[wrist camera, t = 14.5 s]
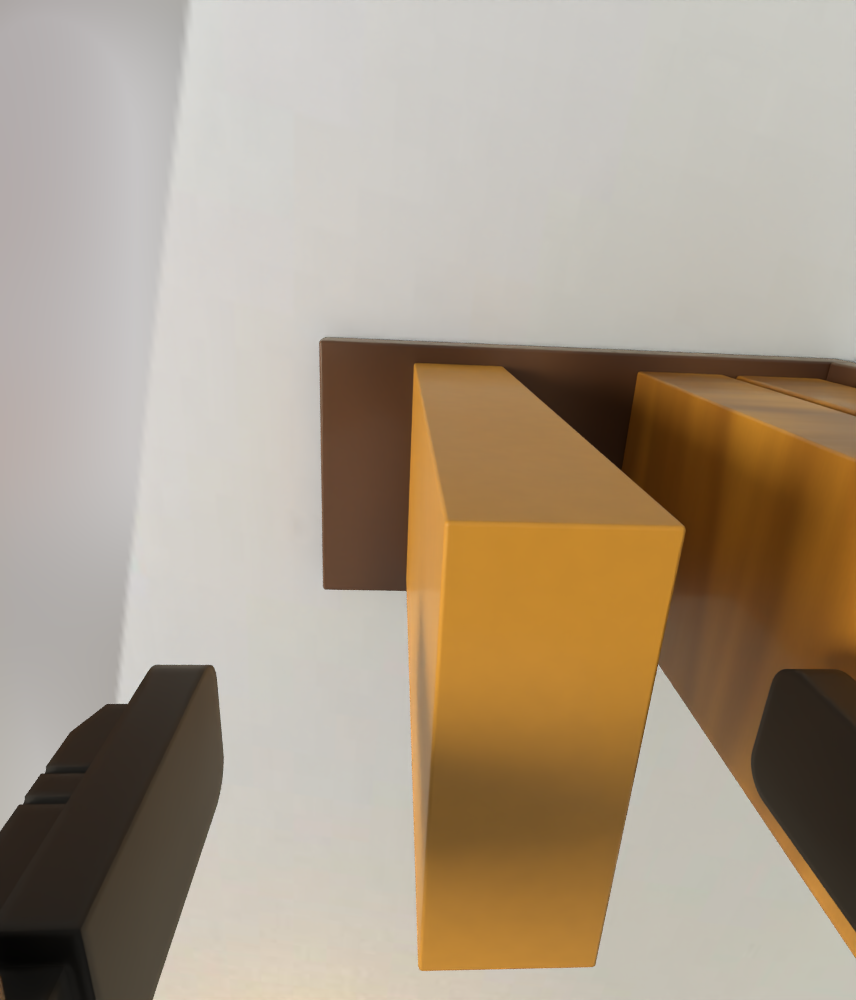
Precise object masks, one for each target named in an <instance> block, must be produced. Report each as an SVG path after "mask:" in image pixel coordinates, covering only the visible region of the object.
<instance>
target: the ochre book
mask: <svg viewBox="0 0 856 1000" xmlns="http://www.w3.org/2000/svg"><path fill="white" fill-rule="evenodd" d="M685 532H686V529H685V526H684V525H683V524H681V523H680V522H679V521H678V520H677V519H676V518H675V517H673V516H672V515H671V514H670V513H669V512H668V511H667V510H665V509H664V508H663V507H662V506H661V505H660V504H659V503H658V502H656V501H655V500H654V499H653V498H652V497H651V496H650V495H648V494H647V493H646V492H645V491H644V490H643V489H642V488H640V487H639V486H638V485H637V484H636V483H635V482H634V481H632V480H631V479H630V478H629V477H628V476H627V475H626V474H624V473H623V472H622V471H621V470H620V469H619V468H618V467H616V466H615V465H614V464H613V463H612V462H611V461H610V460H608V459H607V458H606V457H605V456H604V455H603V454H602V453H600V452H599V451H598V450H597V449H596V448H595V447H594V446H592V445H591V444H590V443H589V442H588V441H587V440H586V439H585V438H583V437H582V436H581V435H580V434H579V433H578V432H577V431H575V430H574V429H573V428H572V427H571V426H570V425H569V424H567V423H566V422H565V421H564V420H563V419H562V418H561V417H559V416H558V415H557V414H556V413H555V412H554V411H553V410H551V409H550V408H549V407H548V406H547V405H546V404H545V403H543V402H542V401H541V400H540V399H539V398H538V397H537V396H535V395H534V394H533V393H532V392H531V391H530V390H529V389H527V388H526V387H525V386H524V385H523V384H522V383H521V382H520V381H518V380H517V379H516V378H515V377H514V376H513V375H512V374H510V373H509V372H508V371H507V370H506V369H505V368H504V367H502V366H482V365H456V364H430V363H415V364H414V376H413V404H412V432H411V460H410V488H409V516H408V544H407V572H406V585H407V618H408V650H409V683H410V715H411V748H412V780H413V812H414V845H415V877H416V910H417V942H418V967H419V969H420V970H421V971H436V970H481V969H526V968H571V967H593V966H595V964H596V959H597V954H598V949H599V945H600V940H601V935H602V930H603V925H604V921H605V916H606V911H607V906H608V901H609V897H610V892H611V887H612V882H613V877H614V873H615V868H616V863H617V858H618V854H619V849H620V844H621V839H622V834H623V830H624V825H625V820H626V815H627V810H628V806H629V801H630V796H631V791H632V786H633V782H634V777H635V772H636V767H637V762H638V758H639V753H640V748H641V743H642V739H643V734H644V729H645V724H646V719H647V715H648V710H649V705H650V700H651V695H652V691H653V686H654V681H655V676H656V671H657V667H658V662H659V657H660V652H661V647H662V643H663V638H664V633H665V628H666V624H667V619H668V614H669V609H670V604H671V600H672V595H673V590H674V585H675V580H676V576H677V571H678V566H679V561H680V556H681V552H682V547H683V542H684V537H685Z"/></svg>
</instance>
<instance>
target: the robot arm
mask: <svg viewBox="0 0 856 1000" xmlns="http://www.w3.org/2000/svg"><path fill="white" fill-rule="evenodd" d="M223 763H224V756H223V743H222V732H221V721H220V709H219V698H218V687H217V677H216V672H215V669H214V667H213V666H212V665H154V666H152V667H151V668H150V670H149V671H148V672H147V674H146V676H145V677H144V679H143V680H142V682H141V684H140V685H139V687H138V689H137V690H136V692H135V693H134V695H133V697H132V698H131V700H130V701H129V703H128V704H107V705H105V706H104V707H102V709H100V710H99V711H97V712H96V713H95V714H93V715H92V716H91V717H90V718H88V719H87V720H86V721H84V722H83V723H82V724H80V725H79V726H78V727H77V728H75V729H74V730H73V731H71V732H70V734H69V735H68V736H67V738H66V739H65V741H64V742H63V743H62V745H61V746H60V748H59V749H58V751H57V752H56V753H55V755H54V756H53V758H52V759H51V760H50V762H49V763H48V765H47V766H46V772H45V774H41V775H40V776H39V777H38V779H37V780H36V782H35V783H34V784H33V786H32V787H31V789H30V790H29V792H28V793H27V794H26V796H25V801H24V804H23V805H19V806H18V807H17V809H16V810H15V811H14V813H13V814H12V816H11V817H10V818H9V820H8V821H7V823H6V824H5V826H4V827H3V828H2V830H1V831H0V1000H153V997H154V994H155V991H156V988H157V984H158V981H159V978H160V975H161V972H162V969H163V966H164V963H165V960H166V957H167V954H168V951H169V948H170V945H171V942H172V939H173V936H174V933H175V930H176V927H177V924H178V921H179V918H180V915H181V912H182V909H183V906H184V903H185V900H186V897H187V894H188V891H189V888H190V885H191V882H192V879H193V876H194V873H195V870H196V867H197V864H198V861H199V858H200V855H201V852H202V849H203V846H204V843H205V840H206V837H207V834H208V831H209V828H210V825H211V822H212V819H213V816H214V813H215V810H216V806H217V803H218V799H219V795H220V790H221V784H222V777H223ZM751 771H752V776H753V780H754V784H755V787H756V789H757V792H758V794H759V796H760V798H761V799H762V801H763V802H764V804H765V805H766V807H767V808H768V809H769V811H770V812H771V814H772V815H773V816H774V818H775V819H776V821H777V822H778V823H779V825H780V826H781V828H782V829H783V831H784V832H785V833H786V835H787V836H788V838H789V839H790V840H791V842H792V843H793V845H794V846H795V847H796V849H797V850H798V852H799V853H800V854H801V856H802V857H803V859H804V860H805V862H806V863H807V864H808V866H809V867H810V869H811V870H812V871H813V873H814V874H815V876H816V877H817V878H818V880H819V881H820V883H821V884H822V885H823V887H824V888H825V890H826V891H827V893H828V894H829V895H830V897H831V898H832V900H833V901H834V902H835V904H836V905H837V907H838V908H839V909H840V911H841V912H842V914H843V915H844V916H845V918H846V919H847V921H848V922H849V924H850V925H851V926H852V928H853V929H854V931H855V932H856V681H855V680H854V679H853V678H852V677H851V676H849V675H848V674H847V673H845V672H843V671H841V670H838V669H783V670H780V671H779V672H778V673H777V674H776V675H775V676H774V678H773V680H772V683H771V686H770V690H769V693H768V697H767V700H766V704H765V707H764V711H763V714H762V718H761V721H760V725H759V728H758V732H757V735H756V739H755V742H754V746H753V749H752V754H751Z"/></svg>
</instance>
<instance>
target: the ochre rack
mask: <svg viewBox="0 0 856 1000" xmlns="http://www.w3.org/2000/svg"><path fill="white" fill-rule="evenodd" d="M319 356H320V420H321V483H322V547H323V587H324V589H329V590H387V591H407V585H406V572H407V544H408V516H409V488H410V460H411V432H412V404H413V376H414V364H415V363H430V364H456V365H482V366H502V367H504V368H505V369H506V370H507V371H508V372H509V373H510V374H512V375H513V376H514V377H515V378H516V379H517V380H518V381H520V382H521V383H522V384H523V385H524V386H525V387H526V388H527V389H529V390H530V391H531V392H532V393H533V394H534V395H535V396H537V397H538V398H539V399H540V400H541V401H542V402H543V403H545V404H546V405H547V406H548V407H549V408H550V409H551V410H553V411H554V412H555V413H556V414H557V415H558V416H559V417H561V418H562V419H563V420H564V421H565V422H566V423H567V424H569V425H570V426H571V427H572V428H573V429H574V430H575V431H577V432H578V433H579V434H580V435H581V436H582V437H583V438H585V439H586V440H587V441H588V442H589V443H590V444H591V445H592V446H594V447H595V448H596V449H597V450H598V451H599V452H600V453H602V454H603V455H604V456H605V457H606V458H607V459H608V460H610V461H611V462H612V463H613V464H614V465H615V466H616V467H618V468H619V469H620V470H621V471H622V472H623V473H624V474H626V475H627V476H628V477H629V478H630V479H631V480H632V481H634V482H635V483H636V484H637V485H638V486H639V487H640V488H642V489H643V490H644V491H645V492H646V493H647V494H648V495H650V496H651V497H652V498H653V499H654V500H655V501H656V502H658V503H659V504H660V505H661V506H662V507H663V508H664V509H665V510H667V511H668V512H669V513H670V514H671V515H672V516H673V517H675V518H676V519H677V520H678V521H679V522H680V523H681V524H683V525H684V526H685V529H686V532H685V537H684V542H683V547H682V552H681V556H680V561H679V566H678V571H677V576H676V580H675V585H674V590H673V595H672V600H671V604H670V609H669V614H668V619H667V624H666V628H665V633H664V638H663V643H662V647H661V652H660V657H659V662H658V664H659V666H660V667H661V669H662V670H663V672H664V673H665V675H666V676H667V678H668V679H669V681H670V682H671V684H672V685H673V687H674V688H675V690H676V691H677V692H678V694H679V695H680V697H681V698H682V700H683V701H684V703H685V704H686V706H687V707H688V709H689V710H690V712H691V713H692V715H693V716H694V718H695V719H696V721H697V722H698V724H699V725H700V727H701V728H702V730H703V731H704V733H705V734H706V736H707V737H708V739H709V740H710V742H711V743H712V745H713V746H714V748H715V749H716V751H717V752H718V754H719V755H720V757H721V758H722V760H723V761H724V763H725V764H726V766H727V767H728V769H729V770H730V772H731V773H732V775H733V776H734V777H735V779H736V780H737V782H738V783H739V785H740V786H741V788H742V789H743V791H744V792H745V794H746V795H747V797H748V798H749V800H750V801H751V803H752V804H753V806H754V807H755V809H756V810H757V812H758V813H759V815H760V816H761V818H762V819H763V821H764V822H765V824H766V825H767V827H768V828H769V830H770V831H771V833H772V834H773V836H774V837H775V839H776V840H777V842H778V843H779V845H780V846H781V848H782V849H783V851H784V852H785V854H786V855H787V857H788V858H789V860H790V861H791V863H792V864H793V865H794V867H795V868H796V870H797V871H798V873H799V874H800V876H801V877H802V879H803V880H804V882H805V883H806V885H807V886H808V888H809V889H810V891H811V892H812V894H813V895H814V897H815V898H816V900H817V901H818V903H819V904H820V906H821V907H822V909H823V910H824V912H825V913H826V915H827V916H828V918H829V919H830V921H831V922H832V924H833V925H834V927H835V928H836V930H837V931H838V933H839V934H840V936H841V937H842V939H843V940H844V942H845V943H846V945H847V946H848V948H849V949H850V951H851V952H852V953H853V955H854V956H855V958H856V932H855V931H854V929H853V928H852V926H851V925H850V924H849V922H848V921H847V919H846V918H845V916H844V915H843V914H842V912H841V911H840V909H839V908H838V907H837V905H836V904H835V902H834V901H833V900H832V898H831V897H830V895H829V894H828V893H827V891H826V890H825V888H824V887H823V885H822V884H821V883H820V881H819V880H818V878H817V877H816V876H815V874H814V873H813V871H812V870H811V869H810V867H809V866H808V864H807V863H806V862H805V860H804V859H803V857H802V856H801V854H800V853H799V852H798V850H797V849H796V847H795V846H794V845H793V843H792V842H791V840H790V839H789V838H788V836H787V835H786V833H785V832H784V831H783V829H782V828H781V826H780V825H779V823H778V822H777V821H776V819H775V818H774V816H773V815H772V814H771V812H770V811H769V809H768V808H767V807H766V805H765V804H764V802H763V801H762V799H761V798H760V796H759V794H758V792H757V789H756V787H755V784H754V780H753V776H752V771H751V754H752V749H753V746H754V742H755V739H756V735H757V732H758V728H759V725H760V721H761V718H762V714H763V711H764V707H765V704H766V700H767V697H768V693H769V690H770V686H771V683H772V680H773V678H774V676H775V675H776V674H777V673H778V672H779V671H780V670H783V669H838V670H841V671H843V672H845V673H847V674H848V675H849V676H851V677H852V678H853V679H854V680H855V681H856V363H854V362H849V361H844V360H839V359H828V358H804V357H781V356H757V355H734V354H710V353H687V352H663V351H639V350H616V349H592V348H569V347H545V346H522V345H498V344H474V343H451V342H427V341H404V340H380V339H357V338H333V337H325V338H323V339H322V340H321V341H320V343H319Z"/></svg>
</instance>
